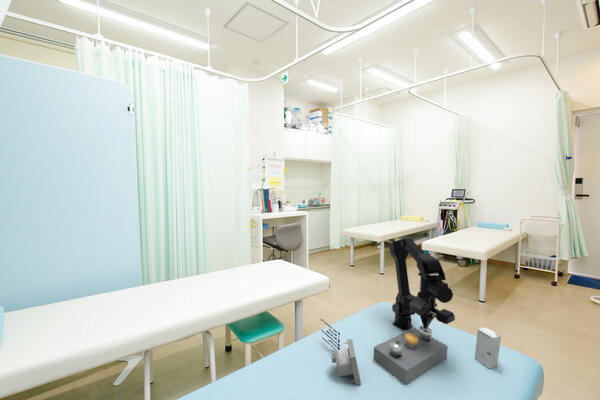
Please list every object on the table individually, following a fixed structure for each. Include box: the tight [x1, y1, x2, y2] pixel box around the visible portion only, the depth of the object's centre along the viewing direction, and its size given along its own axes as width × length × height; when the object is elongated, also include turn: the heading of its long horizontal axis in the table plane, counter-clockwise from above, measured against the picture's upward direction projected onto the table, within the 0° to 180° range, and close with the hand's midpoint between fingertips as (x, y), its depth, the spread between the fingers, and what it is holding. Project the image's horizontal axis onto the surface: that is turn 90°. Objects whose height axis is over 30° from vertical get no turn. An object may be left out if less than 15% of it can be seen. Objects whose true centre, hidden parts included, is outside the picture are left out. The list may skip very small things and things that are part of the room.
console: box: [373, 327, 448, 385], centre depth 98 cm, size 14×25×5 cm, turn 122°
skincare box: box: [474, 326, 502, 369], centre depth 97 cm, size 6×4×12 cm
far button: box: [418, 325, 433, 342], centre depth 103 cm, size 4×4×5 cm
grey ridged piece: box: [320, 318, 362, 386], centre depth 96 cm, size 27×11×10 cm, turn 31°
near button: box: [389, 340, 403, 359], centre depth 93 cm, size 4×4×5 cm
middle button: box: [405, 333, 418, 350], centre depth 98 cm, size 4×4×5 cm
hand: (425, 328), depth 103 cm, fingers closed
